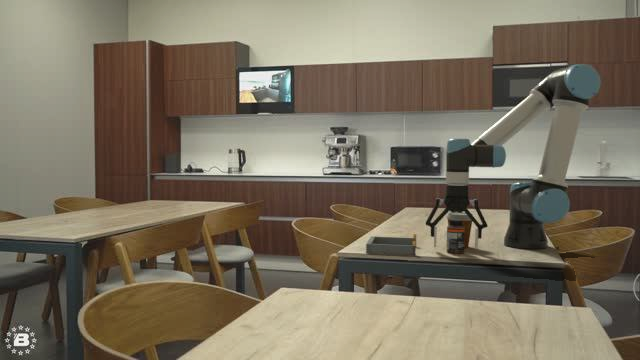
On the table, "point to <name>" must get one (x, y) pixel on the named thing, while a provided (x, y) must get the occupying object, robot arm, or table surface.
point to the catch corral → (391, 245)
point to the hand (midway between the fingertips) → (455, 247)
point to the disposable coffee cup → (465, 222)
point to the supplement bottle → (455, 237)
